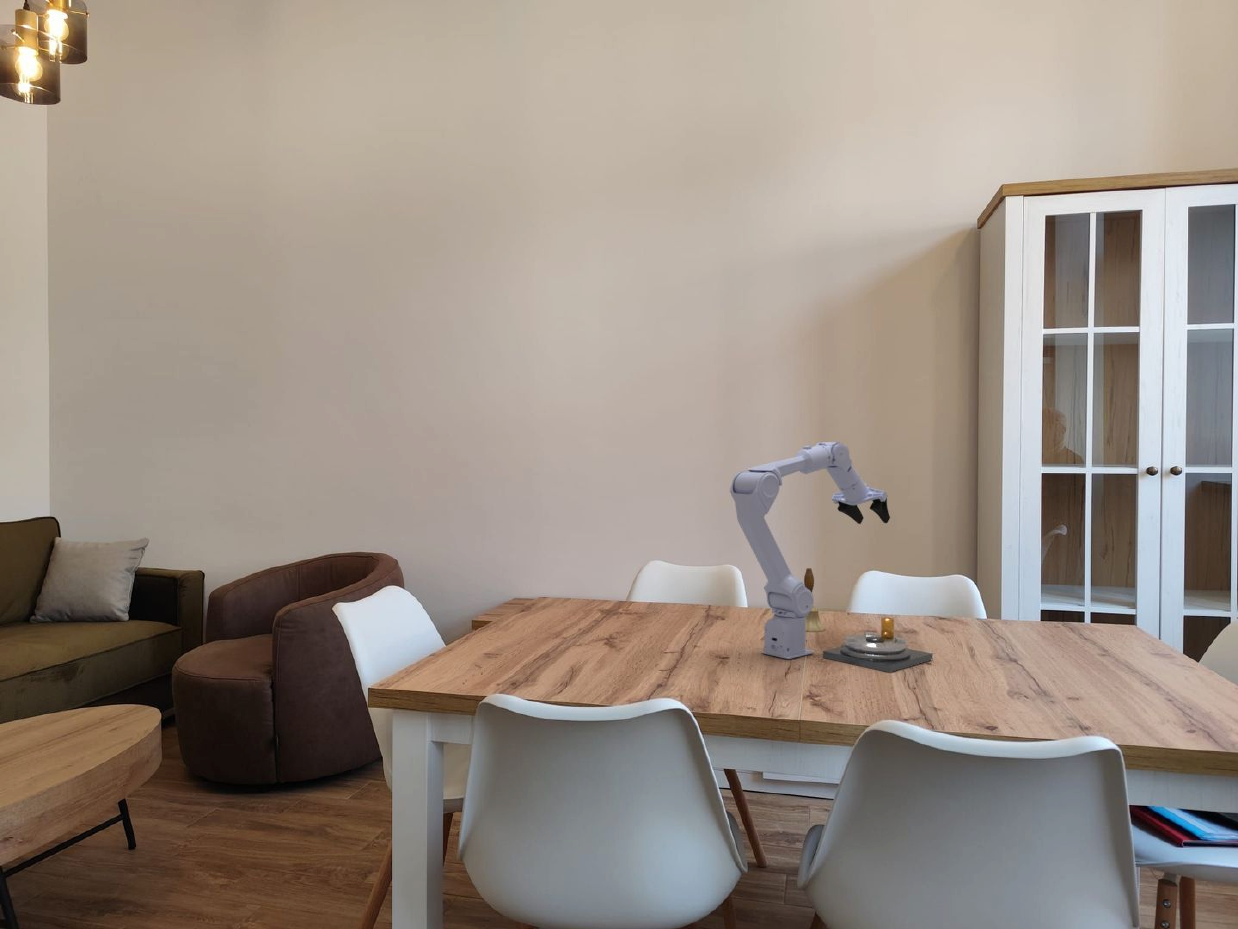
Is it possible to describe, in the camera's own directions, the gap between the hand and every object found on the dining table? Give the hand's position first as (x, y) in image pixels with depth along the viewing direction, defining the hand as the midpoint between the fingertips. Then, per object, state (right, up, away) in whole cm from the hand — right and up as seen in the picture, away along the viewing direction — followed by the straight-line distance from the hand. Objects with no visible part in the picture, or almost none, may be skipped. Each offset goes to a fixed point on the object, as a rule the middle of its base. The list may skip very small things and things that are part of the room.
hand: (874, 520), depth 211 cm
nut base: (-6, -30, -21) cm, 37 cm away
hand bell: (-13, -29, +12) cm, 35 cm away
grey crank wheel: (-6, -27, -21) cm, 35 cm away
